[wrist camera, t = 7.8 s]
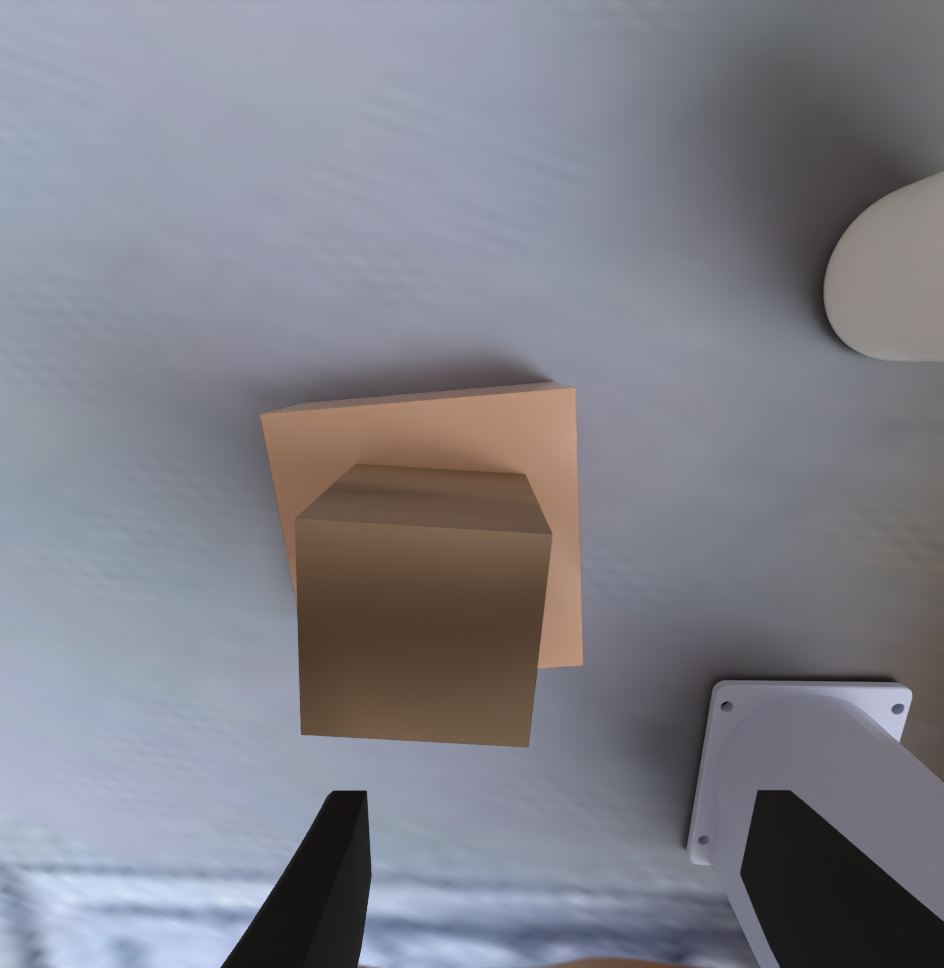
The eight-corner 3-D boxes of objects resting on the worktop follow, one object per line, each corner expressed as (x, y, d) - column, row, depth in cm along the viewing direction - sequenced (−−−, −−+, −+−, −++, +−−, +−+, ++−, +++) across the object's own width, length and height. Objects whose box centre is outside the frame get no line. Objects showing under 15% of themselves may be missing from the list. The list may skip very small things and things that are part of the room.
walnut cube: (510, 625, 15) (528, 747, 11) (355, 616, 15) (300, 734, 11) (525, 474, 14) (552, 534, 9) (355, 463, 14) (294, 518, 9)
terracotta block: (561, 604, 20) (583, 665, 16) (343, 620, 20) (312, 684, 16) (552, 380, 17) (575, 387, 14) (306, 401, 18) (259, 414, 14)
